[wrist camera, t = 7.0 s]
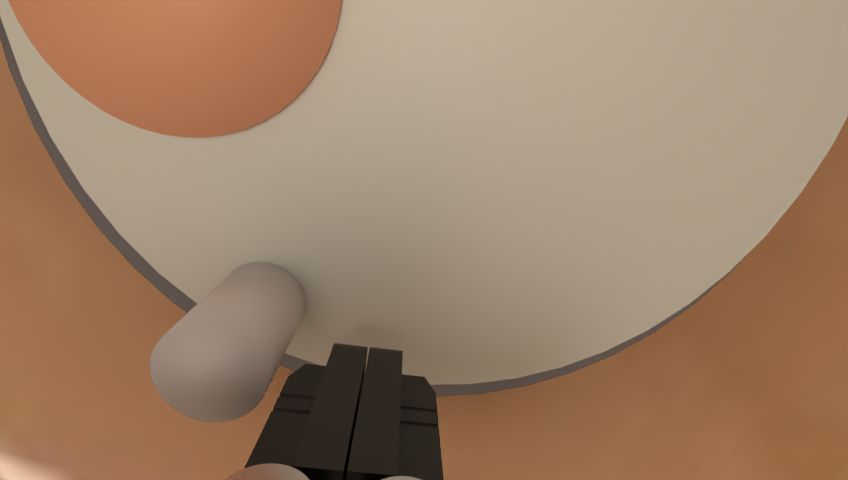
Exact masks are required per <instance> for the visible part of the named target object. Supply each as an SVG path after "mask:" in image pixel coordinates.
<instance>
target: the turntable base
mask: <svg viewBox="0 0 848 480" xmlns="http://www.w3.org/2000/svg"><path fill="white" fill-rule="evenodd" d="M0 39H1V42H2V46H3V49H4V52H5V56H6V59H7V63H8V66H9V69H10V71H11V74H12V76H13V78H14V81H15V83H16V86H17V88H18V90H19V93H20V95H21V97H22V100H23V102H24V105H25V107H26V109H27V112H28V114H29V117H30V119H31V121H32V124H33V126H34V128H35V130H36V132H37V133H38V135H39V137H40V139H41V140H42V142H43V144H44V146H45V148H46V149H47V151H48V153H49V155H50V157H51V158H52V160H53V162H54V164H55V166H56V167H57V169H58V171H59V173H60V174H61V176H62V178H63V180H64V181H65V183H66V184H67V185H68V187H69V188H70V190H71V191H72V192H73V194H74V195H75V197H76V198H77V199H78V201H79V202H80V204H81V205H82V206H83V208H84V209H85V210H86V212H87V213H88V215H89V216H90V217H91V219H92V220H93V222H94V223H95V224H96V226H97V227H98V228H99V229H100V230H101V232H102V233H103V234H104V235H105V236H106V237H107V238H108V239H109V240H110V242H111V243H112V244H113V245H114V246H115V247H116V248H117V249H118V250H119V252H120V253H121V254H122V255H123V256H124V257H125V258H126V259H127V260H128V262H129V263H130V264H131V265H132V266H133V267H134V268H135V269H136V270H137V271H138V272H139V273H141V274H142V275H143V276H144V277H145V278H146V279H147V280H148V281H150V282H151V283H152V284H153V285H154V286H155V287H156V288H157V289H159V290H160V291H161V292H162V293H163V294H164V295H165V296H166V297H168V298H169V299H170V300H171V301H172V302H173V303H174V304H176V305H177V306H179V307H180V308H182V309H183V310H184V311H186V312H187V313H188V312H189V311H190V310H191V309H192V308H193V307H195V306H196V305H197V303H196V302H194V301H193V300H192V299H191V298H189V297H188V296H187V295H186V294H184V293H183V292H182V291H181V290H179V289H178V288H177V287H176V286H174V285H173V284H172V283H171V282H169V281H168V280H167V279H165V278H164V277H163V276H162V275H160V274H159V273H158V272H157V271H156V270H155V269H154V268H153V267H152V266H151V265H150V264H149V263H148V262H147V261H146V260H145V259H144V258H143V257H142V256H141V255H140V254H139V253H138V252H137V251H136V250H135V249H134V248H133V247H132V246H131V245H130V244H129V243H128V242H127V241H126V240H125V239H124V238H123V237H122V236H121V235H120V234H119V233H118V231H117V230H116V229H115V228H114V226H113V225H112V224H111V223H110V221H109V220H108V219H107V218H106V216H105V215H104V214H103V213H102V211H101V210H100V209H99V208H98V206H97V205H96V204H95V203H94V202H93V200H92V199H91V198H90V197H89V195H88V194H87V193H86V192H85V190H84V189H83V187H82V186H81V184H80V183H79V181H78V180H77V178H76V176H75V175H74V173H73V172H72V170H71V168H70V167H69V165H68V164H67V162H66V161H65V159H64V157H63V156H62V154H61V153H60V151H59V150H58V148H57V146H56V145H55V143H54V142H53V140H52V139H51V137H50V135H49V133H48V130H47V128H46V126H45V124H44V122H43V120H42V118H41V116H40V114H39V112H38V110H37V108H36V106H35V104H34V102H33V100H32V98H31V96H30V94H29V92H28V90H27V87H26V85H25V83H24V81H23V79H22V76H21V73H20V70H19V68H18V65H17V62H16V59H15V56H14V54H13V51H12V48H11V45H10V42H9V40H8V37H7V34H6V31H5V28H4V26H3V23H2V20H1V17H0ZM744 258H745V257H744ZM744 258H743V259H744ZM743 259H742V260H743ZM742 260H741V261H742ZM741 261H740V262H741ZM740 262H739V263H740ZM739 263H738V264H739ZM738 264H737V265H738ZM737 265H736V266H737ZM736 266H735V267H736ZM735 267H734V268H735ZM734 268H733V269H734ZM733 269H732V270H733ZM732 270H731V271H730V272H732ZM730 272H729V273H730ZM729 273H727V274H726V275H725V276H724V277H722V278H721V279H720V280H719V281H717V282H716V283H715V284H714V285H712V286H711V287H710V288H709V289H707V290H706V291H705V292H704V293H702V294H701V295H700V296H698V297H697V298H696V299H695V300H693V301H692V302H691V303H690V304H688V305H687V306H685V307H684V308H682V309H681V310H679V311H677V312H676V313H674V314H673V315H671V316H669V317H668V318H666V319H665V320H663V321H662V322H660V323H658V324H657V325H655V326H654V327H652V328H651V329H649V330H647V331H645V332H643V333H641V334H639V335H637V336H635V337H633V338H631V339H629V340H627V341H625V342H623V343H621V344H619V345H617V346H615V347H613V348H611V349H609V350H607V351H605V352H602V353H599V354H597V355H594V356H591V357H588V358H586V359H583V360H580V361H577V362H575V363H572V364H569V365H566V366H564V367H561V368H557V369H553V370H549V371H544V372H540V373H536V374H532V375H528V376H524V377H519V378H515V379H507V380H499V381H491V382H483V383H475V384H438V385H431V387H432V388H433V390H434V391H435V393H436V396H451V395H467V394H482V393H488V392H494V391H499V390H505V389H511V388H516V387H522V386H527V385H531V384H534V383H537V382H541V381H544V380H548V379H551V378H554V377H558V376H561V375H565V374H568V373H571V372H573V371H576V370H578V369H581V368H583V367H585V366H588V365H590V364H593V363H595V362H597V361H600V360H602V359H605V358H607V357H609V356H612V355H614V354H616V353H617V352H619V351H621V350H623V349H625V348H627V347H628V346H630V345H632V344H634V343H636V342H637V341H639V340H641V339H643V338H645V337H646V336H648V335H650V334H652V333H654V332H655V331H657V330H658V329H660V328H661V327H662V326H664V325H665V324H667V323H668V322H669V321H671V320H672V319H674V318H675V317H677V316H678V315H679V314H681V313H682V312H684V311H685V310H687V309H688V308H689V307H691V306H692V305H694V304H695V303H696V302H697V301H698V300H699V299H701V298H702V297H703V296H704V295H705V294H706V293H707V292H709V291H710V290H711V289H712V288H713V287H714V286H715V285H717V284H718V283H719V282H720V281H721V280H722V279H724V278H725V277H726V276H727V275H728V274H729ZM304 364H313V365H317V364H314V363H311V362H309V361H306V360H303V359H300V358H297V357H294V356H291V355H288V354H286V353H285V354H284V356H283V358H282V360H281V362H280V364H279V365H282V366H284V367H286V368H289V369H291V370H294V371H296V370H298V369H299V368H300V367H302V366H303V365H304Z"/></svg>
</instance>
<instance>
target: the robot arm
mask: <svg viewBox="0 0 848 480" xmlns="http://www.w3.org/2000/svg"><path fill="white" fill-rule="evenodd" d="M367 351H368V347H365V346H356V345H347V344H339V343H334V345H333V348H332V351H331V353H330V356H329V359H328V362H327V365H326V366H322V365H313V364H304V365H303V366H302V367H300V368H299V369H298V370H296V371H295V372H294V373H292V374H291V375H290V376H288V379H287V381H286V383H285V385H284V387H283V389H282V391H281V393H280V397H278V399H277V401H276V404H275V406H274V409H273V411H272V412H271V414H270V416H269V418H268V420H267V422H266V424H265V426H264V429H263V431H262V433H261V435H260V437H259V439H258V441H257V443H256V445H255V447H254V449H253V451H252V454H251V456H250V458H249V460H248V462H247V464H246V466H245V468H244V469H242V470H240V471H238V472H236V473H234V474H232V475H230V476H229V477H228V478H226V479H225V480H443V470H442V459H441V448H440V437H439V428H438V415H437V404H436V393H435V391H434V390H433V388H432V387H431V385H430V384H429V382H428V381H427V380H426V378H425V377H422V376H413V375H404V374H402V359H403V351H401V350H392V349H383V348H375V347H370V348H369V354H368V359H367ZM366 360H367V365H366ZM365 368H366V370H365Z"/></svg>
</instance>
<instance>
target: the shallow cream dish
mask: <svg viewBox="0 0 848 480" xmlns="http://www.w3.org/2000/svg"><path fill="white" fill-rule="evenodd" d="M0 17H1V20H2V23H3V26H4V28H5V31H6V34H7V37H8V40H9V42H10V45H11V48H12V51H13V54H14V56H15V59H16V62H17V65H18V68H19V70H20V73H21V76H22V79H23V81H24V83H25V85H26V87H27V90H28V92H29V94H30V96H31V98H32V100H33V102H34V104H35V106H36V108H37V110H38V112H39V114H40V116H41V118H42V120H43V122H44V124H45V126H46V128H47V130H48V133H49V135H50V137H51V139H52V140H53V142H54V143H55V145H56V146H57V148H58V150H59V151H60V153H61V154H62V156H63V157H64V159H65V161H66V162H67V164H68V165H69V167H70V168H71V170H72V172H73V173H74V175H75V176H76V178H77V180H78V181H79V183H80V184H81V186H82V187H83V189H84V190H85V192H86V193H87V194H88V195H89V197H90V198H91V199H92V200H93V202H94V203H95V204H96V205H97V206H98V208H99V209H100V210H101V211H102V213H103V214H104V215H105V216H106V218H107V219H108V220H109V221H110V223H111V224H112V225H113V226H114V228H115V229H116V230H117V231H118V233H119V234H120V235H121V236H122V237H123V238H124V239H125V240H126V241H127V242H128V243H129V244H130V245H131V246H132V247H133V248H134V249H135V250H136V251H137V252H138V253H139V254H140V255H141V256H142V257H143V258H144V259H145V260H146V261H147V262H148V263H149V264H150V265H151V266H152V267H153V268H154V269H155V270H156V271H157V272H158V273H159V274H160V275H162V276H163V277H164V278H165V279H167V280H168V281H169V282H171V283H172V284H173V285H174V286H176V287H177V288H178V289H179V290H181V291H182V292H183V293H184V294H186V295H187V296H188V297H189V298H191V299H192V300H193V301H194V302H196V303H197V305H196V306H195V307H193V308H192V309H191V310H190V311H189V312H188V313H187V314H186V315H185V316H184V317H183V318H182V319H181V320H179V321H178V322H177V323H176V324H175V325H174V326H173V327H172V328H171V329H170V330H169V331H168V332H167V333H166V334H164V335H163V337H162V338H161V339H160V340H159V341H158V342H157V344H156V345H155V347H154V349H153V352H152V355H151V359H150V373H151V378H152V381H153V384H154V386H155V388H156V390H157V391H158V393H159V394H160V396H161V397H162V398H163V399H164V400H165V402H167V403H168V404H169V405H170V406H171V407H172V408H174V409H175V410H177V411H178V412H180V413H182V414H183V415H186V416H188V417H190V418H193V419H197V420H201V421H207V422H224V421H230V420H234V419H237V418H239V417H242V416H244V415H246V414H247V413H249V412H250V411H252V410H253V409H254V408H255V407H256V406H257V405H258V404H259V402H260V401H261V400H262V398H263V396H264V394H265V392H266V390H267V388H268V386H269V384H270V382H271V380H272V378H273V376H274V374H275V372H276V370H277V368H278V366H279V364H280V362H281V360H282V358H283V356H284V354H285V353H286V354H288V355H291V356H294V357H297V358H300V359H303V360H306V361H309V362H311V363H314V364H317V365H322V366H326V365H327V362H328V359H329V356H330V353H331V351H332V348H333V345H334V343H339V344H347V345H356V346H365V347H368V351H367V359H368V354H369V348H370V347H375V348H383V349H392V350H401V351H403V359H402V374H404V375H413V376H422V377H425V378H426V380H427V381H428V382H429V384H430V385H438V384H475V383H483V382H491V381H499V380H507V379H515V378H519V377H524V376H528V375H532V374H536V373H540V372H544V371H549V370H553V369H557V368H561V367H564V366H566V365H569V364H572V363H575V362H577V361H580V360H583V359H586V358H588V357H591V356H594V355H597V354H599V353H602V352H605V351H607V350H609V349H611V348H613V347H615V346H617V345H619V344H621V343H623V342H625V341H627V340H629V339H631V338H633V337H635V336H637V335H639V334H641V333H643V332H645V331H647V330H649V329H651V328H652V327H654V326H655V325H657V324H658V323H660V322H662V321H663V320H665V319H666V318H668V317H669V316H671V315H673V314H674V313H676V312H677V311H679V310H681V309H682V308H684V307H685V306H687V305H688V304H690V303H691V302H692V301H693V300H695V299H696V298H697V297H698V296H700V295H701V294H702V293H704V292H705V291H706V290H707V289H709V288H710V287H711V286H712V285H714V284H715V283H716V282H717V281H719V280H720V279H721V278H722V277H724V276H725V275H726V274H727V273H729V272H730V271H731V270H732V269H733V268H734V267H735V266H736V265H737V264H738V263H739V262H740V261H741V260H742V259H743V258H744V257H745V256H746V255H747V254H748V253H749V252H750V251H751V250H752V249H753V248H754V247H755V246H756V245H757V244H758V243H759V242H760V241H761V240H762V239H763V238H764V237H765V236H766V235H767V234H768V233H769V231H770V230H771V229H772V228H773V227H774V225H775V224H776V223H777V222H778V220H779V219H780V218H781V217H782V216H783V214H784V213H785V212H786V211H787V210H788V208H789V207H790V206H791V205H792V203H793V202H794V201H795V200H796V199H797V197H798V196H799V195H800V194H801V192H802V191H803V189H804V188H805V186H806V185H807V183H808V182H809V180H810V179H811V177H812V176H813V174H814V173H815V171H816V170H817V168H818V167H819V165H820V164H821V162H822V161H823V159H824V158H825V156H826V155H827V153H828V152H829V150H830V149H831V147H832V145H833V143H834V142H835V140H836V138H837V136H838V134H839V132H840V130H841V128H842V126H843V124H844V122H845V121H846V119H847V117H848V0H0ZM366 365H367V360H366ZM365 370H366V368H365Z"/></svg>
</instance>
